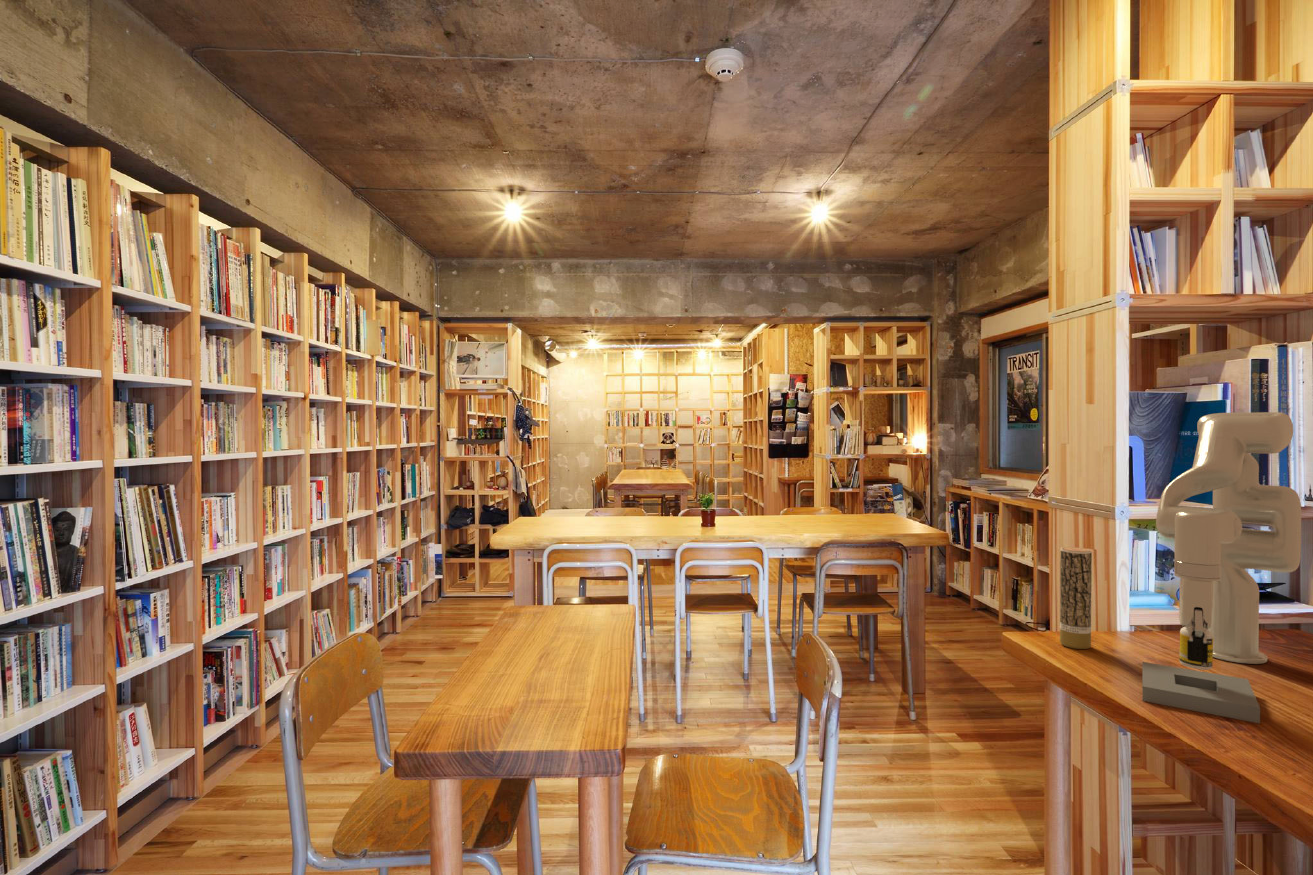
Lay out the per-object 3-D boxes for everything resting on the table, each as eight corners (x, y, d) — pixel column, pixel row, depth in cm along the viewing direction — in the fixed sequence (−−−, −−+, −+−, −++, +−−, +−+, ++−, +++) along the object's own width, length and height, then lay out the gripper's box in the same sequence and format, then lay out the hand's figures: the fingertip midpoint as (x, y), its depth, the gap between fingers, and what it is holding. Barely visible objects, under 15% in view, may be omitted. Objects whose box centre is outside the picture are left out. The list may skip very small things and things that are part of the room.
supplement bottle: (1204, 672, 135) (1205, 624, 135) (1174, 663, 140) (1174, 617, 140) (1218, 667, 138) (1218, 620, 138) (1187, 659, 143) (1187, 614, 142)
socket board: (1142, 674, 151) (1142, 661, 151) (1247, 693, 141) (1247, 679, 141) (1142, 700, 137) (1142, 686, 137) (1259, 723, 126) (1260, 707, 126)
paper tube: (1095, 651, 168) (1096, 552, 168) (1066, 649, 169) (1066, 551, 169) (1084, 642, 174) (1084, 547, 174) (1055, 641, 176) (1056, 546, 176)
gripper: (1172, 561, 148) (1172, 643, 148) (1176, 575, 134) (1175, 665, 134) (1216, 565, 143) (1216, 649, 144) (1224, 580, 130) (1224, 673, 130)
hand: (1196, 656), depth 139 cm, fingers closed on supplement bottle, 5 cm apart
